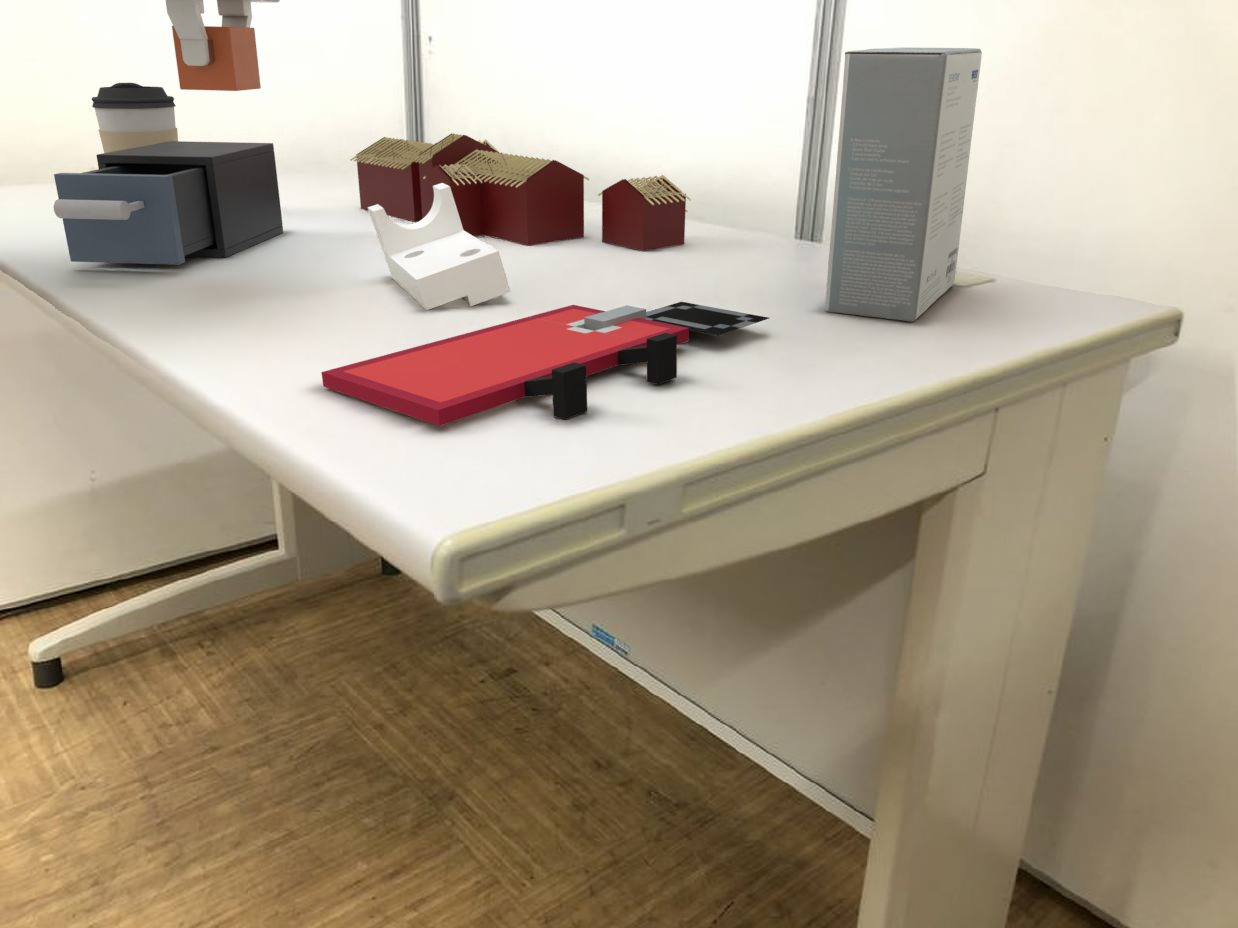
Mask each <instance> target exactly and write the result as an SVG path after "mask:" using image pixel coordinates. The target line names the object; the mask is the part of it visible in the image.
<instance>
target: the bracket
mask: <svg viewBox="0 0 1238 928" xmlns="http://www.w3.org/2000/svg"><path fill="white" fill-rule="evenodd" d="M433 190H434V201H433V205H432V208H431V210H430V211H429V213H428V214H427V215H426V216H425V217H424V218H423V219H422V220H420V221H415V222H414V223H410V224H409V223H408V224H403V223H397V222H396V221H393V220H391V219H390V217H389V215H387V214H386V212H385V210H384V208H383V207H381V206H380V205H378V204H376V205H373V206H370V207H367V208H368V210H367V211H368V214H369V216H370V219H371V222H372V224H373V227H374V230H375V233H376V236H377V239H378V242H379V245H380V247H381V250H382V253H383V256H384V259H385V262H386V265H387V267H388V271H389V272H390V275H391V279H392V280H394V281H395V282H396V283H397V284H398V285H399V286H400V287H401V288H402V289H404V291H405V292H407V293H408V294H409V295H410V296H411V297H412V298H413V299H414V300H415V301H416V302H417V303H418V304H420V305H421V307H423V308H424V310H426V311H429V310H431V309H434V308H437V307H440V306H442V305H446V304H449V303H451V302H454V301H455V300H459V299H461V300H462V301H464V303H466V304H467V305H469V306H470V307H473V306H475V305H478V304H481V303H484V302H487V301H490V300H491V299H494V298H497V297H500V296H504V295H506V294H508V293H511V291H512V290H511V288H510V285H509V282H508V277H507V274H506V272H505V268H504V264H503V261H502V258H501V255H500V254H501V253H500V251H499V250H498V249H496V248H495V247H493V246H491V245H490V244H488V243H486V242H484V241H483V240H481V239H479V238H477V237H476V236H472V235H471V234H469V233H467V232H466V231H464V230H463V227H462V224H461V220H460V217H459V214H458V211H457V208H456V204H455V201H454V198H453V195H452V191H451V188H450V186H448V185H446V184H444V183H440V184H437V185H434V186H433Z"/></svg>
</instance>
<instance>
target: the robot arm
mask: <svg viewBox="0 0 1238 928" xmlns="http://www.w3.org/2000/svg"><path fill="white" fill-rule="evenodd" d="M280 1H281V0H216V4H217V12H218V16H221V27H248V28H251V24H252V19H253V13H252V4H251V3H269V4H270V3H271V4H272V3H274V4H275V3H279V2H280ZM165 6H166V13H167V16H168V18H169V20H170V22H171V24H172V26H174V28H175V31H176V33H177V35H178V37H179V39H180V41H181V48H182V56H183V61H184V62H185V64H187V65H190V66H209V65H212V64H214V62H215V56H214V47H213V40H207V39H208V37H207V34H206V30H205V27H204V26H205V23H204V20H203V17H202V14H205V6H204V0H165Z"/></svg>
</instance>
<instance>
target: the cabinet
mask: <svg viewBox="0 0 1238 928" xmlns="http://www.w3.org/2000/svg"><path fill="white" fill-rule="evenodd" d="M274 147H275V146H274V143H273V142H232V141H230V142H229V141H227V142H226V141H179V140H178V141H169V142H164V143H158V144H153V145H147V146H142V147H136V148H130V149H125V150H119V151H114V152H108V153H104V152H103V153H98V154H96V161H97V167H98V169H103V168H108V167H113V166H118V165H122V164H165V165H206V172H207V179H208V186H209V193H210V200H211V208H212V215H213V222H214V229H215V236H216V243H215V244H213V245H210V246H208V247H205V248H203V249H200V250H198V251H195V252H193V253H190V254H188V255H185V256H184V257H186V258H187V257H189V258H191V257H192V258H195V257H196V258H222V259H223V258H228V257H230V256H232V255H235V254H237V253H239V252H242V251H244V250H246V249H249V248H251V247H253V246H255V245H258V244H260V243H262V242H266V241H267V240H270V239H272V238H274V237H277V236H278V235H280V234H283V233H284V227H283V225H284V224H283V216H282V207H281V199H280V191H279V181H278V172H277V165H276V164H277V163H276V156H275V148H274Z"/></svg>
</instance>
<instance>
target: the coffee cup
mask: <svg viewBox="0 0 1238 928" xmlns="http://www.w3.org/2000/svg"><path fill="white" fill-rule="evenodd" d="M91 101H92V106H91V108H93V109H94V113H95V117H96V120H97V124H98V128H99V129H98V133H99V138H100V141H101V145H102V149H103V153H108V152H114V151H119V150H125V149H130V148H136V147H142V146H147V145H153V144H158V143H164V142H169V141H179V133H178V128H177V126H176V113H175V107H176V106H177V105H176V103H175V102H174V101H175V97H174V96H172V95H168V94H167V92H166V91H165V89H164V87H163V86H149V85H147V86H146V85H145V86H144V85H141V84H138V83H136V82H116V83H114V84H112V85H111V86H102V87H101V86H100V87H99V89H98V93H97V96H92V97H91Z"/></svg>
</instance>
